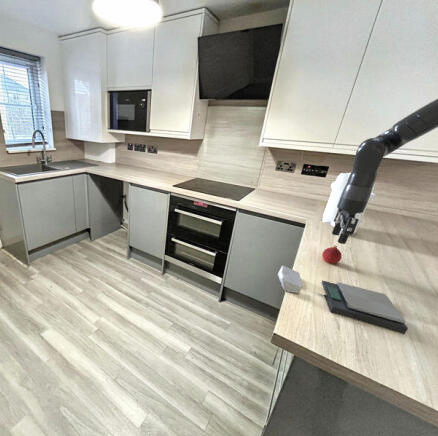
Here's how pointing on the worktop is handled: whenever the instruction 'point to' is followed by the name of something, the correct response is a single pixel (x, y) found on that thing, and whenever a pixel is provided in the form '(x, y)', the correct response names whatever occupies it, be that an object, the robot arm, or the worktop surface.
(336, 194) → the white stepped block
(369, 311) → the scale plate
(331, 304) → the scale
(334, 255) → the onion
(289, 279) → the light grey faceted block
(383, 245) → the worktop surface
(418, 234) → the worktop surface
